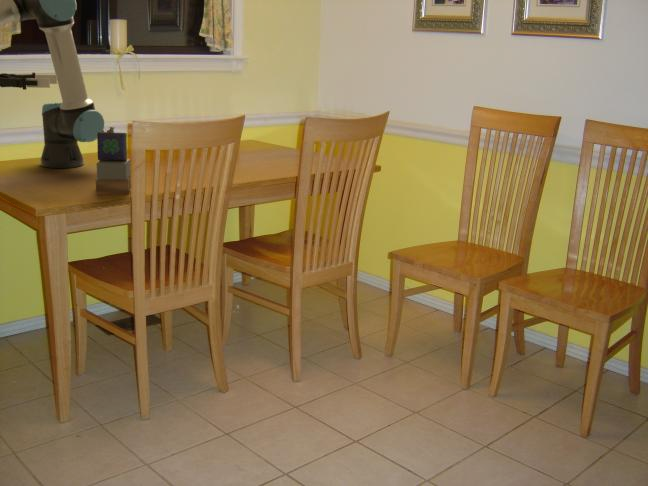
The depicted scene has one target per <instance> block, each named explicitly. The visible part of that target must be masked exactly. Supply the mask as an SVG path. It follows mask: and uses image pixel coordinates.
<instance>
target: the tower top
mask: <svg viewBox="0 0 648 486" xmlns="http://www.w3.org/2000/svg"><path fill="white" fill-rule="evenodd" d="M131 168H132V167H131V158H127V161H112V160H111V161H102V160H98V162H96V175H97V177H96V178H97V179H121V180H127V178H128V177H129V176H130V174H131V175H132V173H131V172H132V171H131V170H132V169H131Z"/></svg>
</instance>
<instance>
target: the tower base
mask: <svg viewBox="0 0 648 486" xmlns="http://www.w3.org/2000/svg"><path fill="white" fill-rule="evenodd" d="M131 189H132V173H131V174H130V176H129V177H128V178H127V180H121V179H97V177H96V178H95V193H96V195H129V194H130V192H131Z"/></svg>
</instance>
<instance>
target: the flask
mask: <svg viewBox="0 0 648 486" xmlns="http://www.w3.org/2000/svg"><path fill="white" fill-rule="evenodd" d="M127 136H128V134H127V132H115V126H109V129H108V130H106V129H103V131H102V132H98V133H97V139H96V141H97V160H98V161H100V160H102V161H111V160H112V161H127V159H128V146H127V145H128V142H127V141H128V140H127Z"/></svg>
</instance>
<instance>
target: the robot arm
mask: <svg viewBox="0 0 648 486" xmlns="http://www.w3.org/2000/svg"><path fill="white" fill-rule="evenodd" d="M76 11H77V1H76V0H0V27H1V26H5V25H6V24H9V23H11V22H12V23H14V24H18V23H20V22H22V21H28V20H36V22H37V25H38V28H39V30H41V31H42V32H43V33H44V34H45V35H44V36H45V38H46V41H47V45H48V50H49V53H50V58H51V61H52V65H53V70H54V74H36V72H32V73H31V74H29V73H27V74H15V73H3V72H2V73H0V88H19V89H22V90H23V91H24V90H27V88H39V89H40V88H46V89H49V88H51V84H52V85H58V89H59V92H60V96H61V101H62V102H54V103H53V102H52V103H51V102H50V103H49V102H48V103H44V104H43V105H42V107H41V108H42V109H41V116H42V127H43V129H42V130H43V141H44V145H43V149H42V151H41V152H42V153H41V155H40V156H41V157H40V165H41V167H44V168H48V169H49V168H50V169H68V168H70V169H71V168H77V167H81V166H83V165H84V163H85V162H84V157H83V154H82V152H81V150H80V149H81V148H80V147H79V144H78V142H79V143H92V142H94V141H97V133H98V132H102V131H103V130H105V120H104V116H103V115H102V114H101V112H99V110H96V108H95V103H94V101H93V99H91V98H90V97H88V93H87V89H86V85H85V82H84V81H85V80H84V77H83V72H82V68H81V64H80V59H79V56H78V52H77V47H76V43H75V38H74V36H73V31H72V27H73V26H74V24H75V19H74V16H75V13H76Z"/></svg>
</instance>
